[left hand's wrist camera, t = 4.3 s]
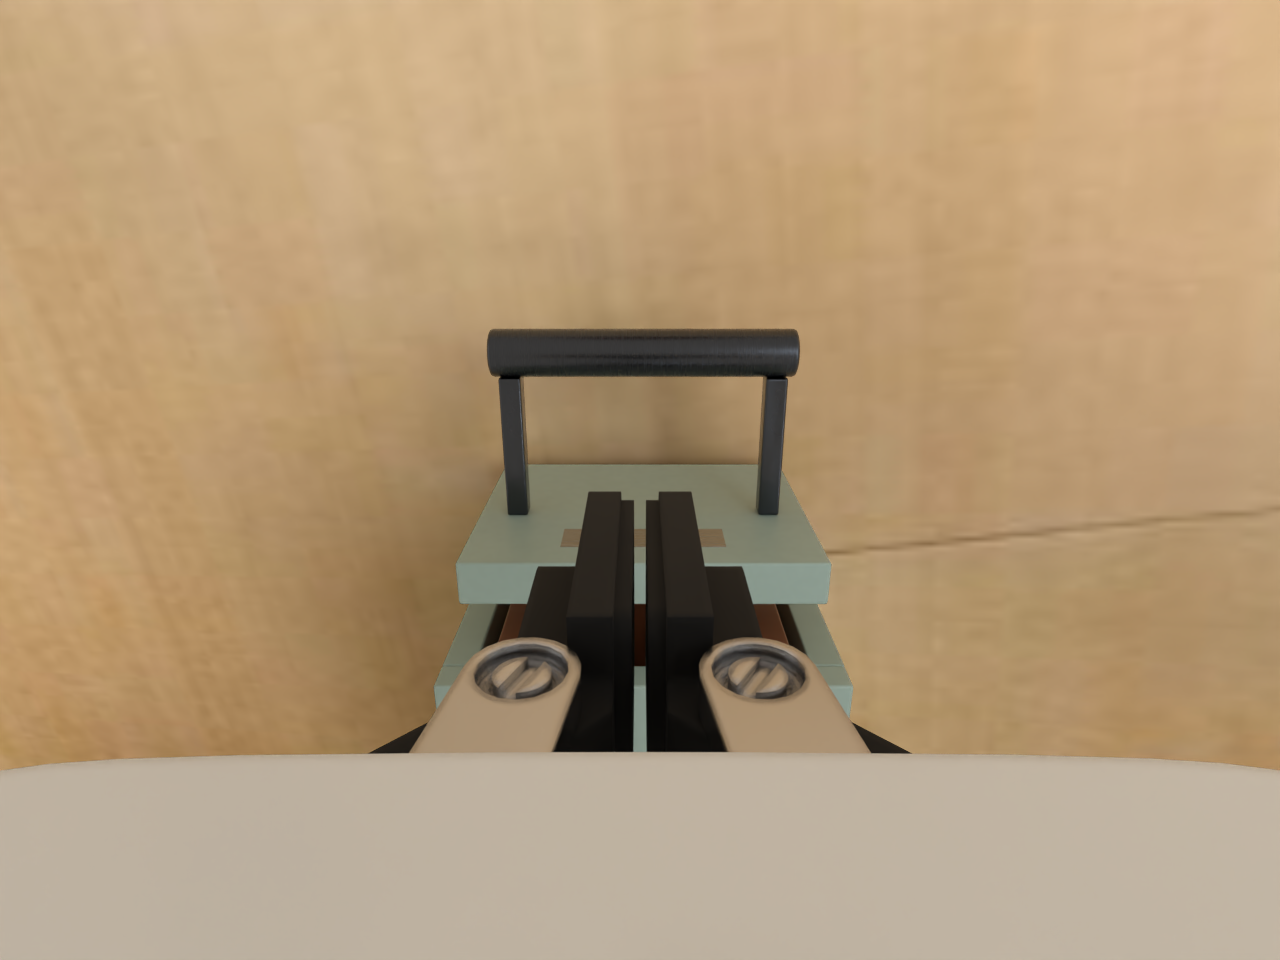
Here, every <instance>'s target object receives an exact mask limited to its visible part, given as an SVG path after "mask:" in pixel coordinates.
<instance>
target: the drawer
mask: <svg viewBox="0 0 1280 960" xmlns="http://www.w3.org/2000/svg"><path fill="white" fill-rule="evenodd" d="M799 358H800V342H799V336H798V333H797V331H796V330H794V329H492V330H490V332H489V335H488V339H487V360H488V367H489V370H490V373H491V375H492V376H495V377H500V378H499V394H500V409H501V424H502V438H503V453H504V467H505V469H504V471H503V473H502V475H501V477H500V479H499V480H498V482H497V484H496V486H495V488H494V490H493V492H492V494H491V496H490V498H489V500H488V502H487V504H486V506H485V508H484V510H483V512H482V514H481V516H480V517H479V519H478V521H477V523H476V525H475V527H474V529H473V531H472V533H471V535H470V537H469V539H468V541H467V543H466V545H465V547H464V549H463V551H462V553H461V554H460V556H459V558H458V560H457V562H456V574H457V584H458V594H459V602H460V603H461V604H510V607H509V610H508V614H507V617H506V620H505V623H504V626H503V629H502V632H501V635H500V638H499V641H498V642H501V641H504V640H510V639H515V638H517V637H518V634H519V630H520V627H521V623H522V620H523V616H524V612H525V609H526V605H527V602H528V598H529V595H530V591H531V588H532V584H533V581H534V577H535V573H536V570H537V568H538V566H575V564H576V559H577V553H578V547H579V542H580V536H581V530H582V525H583V519H584V514H585V508H586V502H587V497H588V492H589V491H621V497H622V500H634V624H635V661H634V666H646V662H645V623H646V500H658V497H659V491H691V492H692V497H693V502H694V508H695V514H696V519H697V525H698V531H699V536H700V542H701V547H702V553H703V559H704V564H705V566H742V568H743V570H744V573H745V577H746V581H747V584H748V588H749V591H750V595H751V598H752V602H753V605H754V609H755V613H756V616H757V620H758V623H759V627H760V630H761V634H762V637H763V638H765V639H770V640H776V641H779V642H782V643H785V644H787V645H789V643H788V640H787V637H786V634H785V631H784V628H783V625H782V622H781V619H780V616H779V613H778V610H777V608H776V605H775V604H827V602H828V593H829V583H830V573H831V563H830V561H829V559H828V557H827V555H826V553H825V551H824V549H823V547H822V545H821V544H820V542H819V540H818V538H817V536H816V534H815V532H814V530H813V528H812V527H811V525H810V523H809V521H808V519H807V517H806V515H805V513H804V511H803V510H802V508H801V506H800V504H799V502H798V500H797V498H796V496H795V494H794V493H793V491H792V489H791V487H790V485H789V483H788V481H787V479H786V477H785V476H784V474H783V472H782V457H783V443H784V429H785V415H786V401H787V387H788V379H787V378H786V377H792V376H794V375H795V374H796V372H797V369H798V365H799ZM523 377H763V391H762V408H761V425H760V442H759V459H758V464H528V454H527V436H526V418H525V400H524V383H523Z"/></svg>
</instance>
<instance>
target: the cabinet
mask: <svg viewBox="0 0 1280 960" xmlns="http://www.w3.org/2000/svg"><path fill="white" fill-rule="evenodd" d="M775 605H776V608H777V610H778V613H779V616H780V619H781V622H782V625H783V628H784V631H785V634H786V637H787V640H788V643H789V645H790V646H793V647H794V648H796V649H798V650H799V651H801V652H802V653H804V654H806V655H807V656H808V657H809V658H810V660H811V661H812V662H813V663H814V664H815V665H816V667H817V668H818V670H819V671H820V673H821V675H822V676H823V678H824V679H825V681H826V683H827V684H828V686H829V687H830V689H831V690H832V692H833V694H834V695H835V697H836V698H837V700H838V701H839V703H840V705H841V706H842V708H843V709H844V711H845V713H846V714H847V716H848V717H850V709H851V701H852V693H853V685H852V683H851V681H850V678H849V676H848V674H847V672H846V669H845V667H844V664H843V662H842V660H841V657H840V655H839V653H838V651H837V648H836V646H835V644H834V641H833V639H832V637H831V635H830V632H829V630H828V628H827V626H826V623H825V621H824V619H823V616H822V614H821V612H820V610H819V607H818V605H817V604H775ZM509 607H510V604H469V605H468V608H467V610H466V612H465V615H464V617H463V619H462V622H461V624H460V626H459V629H458V631H457V633H456V636H455V638H454V640H453V643H452V645H451V647H450V650H449V652H448V654H447V657H446V659H445V661H444V664H443V667H442V668H441V671H440V673H439V675H438V678H437V680H436V682H435V685H434V694H435V702H436V709H437V708H438V706H439V705H440V703H441V701H442V700H443V698H444V697H445V695H446V694H447V692H448V690H449V689H450V687H451V686H452V684H453V683H454V681H455V679H456V678H457V676H458V675H459V673H460V671H461V670H462V668H463V667H464V665H465V664H466V663H467V662H468V661H469V660H470V658H471V657H472V656H473V655H474V654H476V653H478V652H479V651H481V650H482V649H484V648H486V647H487V646H490V645H493V644H495V643H498V641H499V638H500V635H501V632H502V629H503V626H504V623H505V620H506V617H507V614H508V610H509ZM633 752H647V746H646V666H634V746H633Z"/></svg>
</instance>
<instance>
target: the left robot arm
mask: <svg viewBox="0 0 1280 960" xmlns="http://www.w3.org/2000/svg"><path fill="white" fill-rule="evenodd" d="M634 661H635V624H634V500H622V497H621V491H589V492H588V497H587V502H586V508H585V514H584V519H583V525H582V530H581V536H580V542H579V547H578V553H577V559H576V564H575V566H538V568H537V570H536V573H535V577H534V581H533V584H532V588H531V591H530V595H529V598H528V602H527V605H526V609H525V612H524V616H523V620H522V623H521V627H520V630H519V634H518V637H517V638H515V639H510V640H504V641H501V642H498V643H495V644H493V645H490V646H487V647H486V648H484V649H482V650H481V651H479V652H478V653H476V654H474V655H473V656H472V657H471V658H470V660H469V661H468V662H467V663H466V664H465V665H464V667H463V668H462V670H461V671H460V673H459V675H458V676H457V678H456V679H455V681H454V683H453V684H452V686H451V687H450V689H449V690H448V692H447V694H446V695H445V697H444V698H443V700H442V701H441V703H440V705H439V706H438V708H437V709H436V711H435V713H434V714H433V716H432V717H431V719H430V720H429V722H428V723H426V724H424V725H422V726H420V727H418V728H416V729H415V730H413V731H411V732H409V733H407V734H405V735H403V736H401V737H399V738H397V739H395V740H393V741H391V742H390V743H388V744H386V745H384V746H382V747H380V748H378V749H376V750H374V751H372V752H370V753H368V754H302V755H229V756H197V757H166V758H134V759H110V760H97V761H83V762H69V763H56V764H45V765H37V766H30V767H23V768H15V769H8V770H1V771H0V960H1280V771H1279V770H1274V769H1266V768H1258V767H1250V766H1242V765H1234V764H1225V763H1213V762H1198V761H1182V760H1166V759H1151V758H1117V757H1080V756H1044V755H995V754H912V753H910V752H908V751H906V750H904V749H902V748H900V747H898V746H896V745H894V744H892V743H890V742H889V741H887V740H885V739H883V738H881V737H879V736H877V735H875V734H873V733H871V732H869V731H867V730H865V729H864V728H862V727H860V726H858V725H856V724H854V723H852V722H851V720H850V719H849V717H848V716H847V714H846V713H845V711H844V709H843V708H842V706H841V705H840V703H839V701H838V700H837V698H836V697H835V695H834V694H833V692H832V690H831V689H830V687H829V686H828V684H827V683H826V681H825V679H824V678H823V676H822V675H821V673H820V671H819V670H818V668H817V667H816V665H815V664H814V663H813V662H812V661H811V660H810V658H809V657H808V656H807V655H806V654H804V653H802V652H801V651H799V650H798V649H796V648H794V647H793V646H790V645H787V644H785V643H782V642H779V641H776V640H770V639H765V638H763V637H762V634H761V630H760V627H759V623H758V620H757V616H756V613H755V609H754V605H753V602H752V598H751V595H750V591H749V588H748V584H747V581H746V577H745V573H744V570H743V568H742V566H705V564H704V559H703V553H702V547H701V542H700V536H699V531H698V525H697V519H696V514H695V508H694V502H693V497H692V492H691V491H659V497H658V500H646V623H645V662H646V746H647V752H633V746H634Z"/></svg>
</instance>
